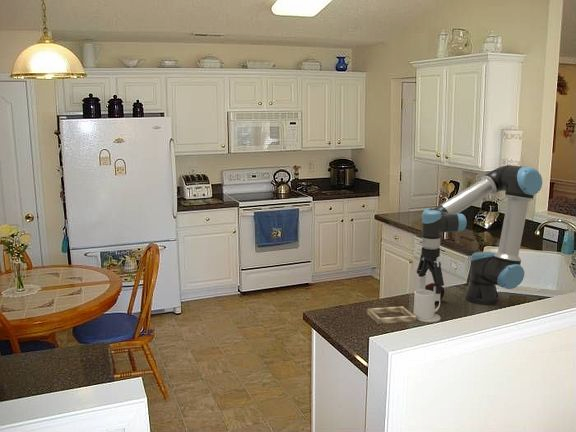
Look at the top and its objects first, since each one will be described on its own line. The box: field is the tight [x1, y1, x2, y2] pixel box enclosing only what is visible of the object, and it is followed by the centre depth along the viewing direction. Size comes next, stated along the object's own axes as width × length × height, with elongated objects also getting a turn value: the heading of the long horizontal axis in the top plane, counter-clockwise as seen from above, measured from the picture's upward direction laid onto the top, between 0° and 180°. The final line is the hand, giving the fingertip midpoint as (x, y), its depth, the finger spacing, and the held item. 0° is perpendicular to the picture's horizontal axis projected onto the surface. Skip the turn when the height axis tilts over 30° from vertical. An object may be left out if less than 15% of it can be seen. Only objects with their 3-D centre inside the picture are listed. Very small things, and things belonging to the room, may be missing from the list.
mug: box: [412, 289, 441, 319], centre depth 234 cm, size 9×12×11 cm
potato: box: [425, 282, 446, 303], centre depth 255 cm, size 9×12×9 cm
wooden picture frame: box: [366, 306, 417, 325], centre depth 236 cm, size 17×14×2 cm
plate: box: [416, 312, 441, 324], centre depth 235 cm, size 11×11×1 cm
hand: (429, 295), depth 234 cm, fingers open, 13 cm apart
